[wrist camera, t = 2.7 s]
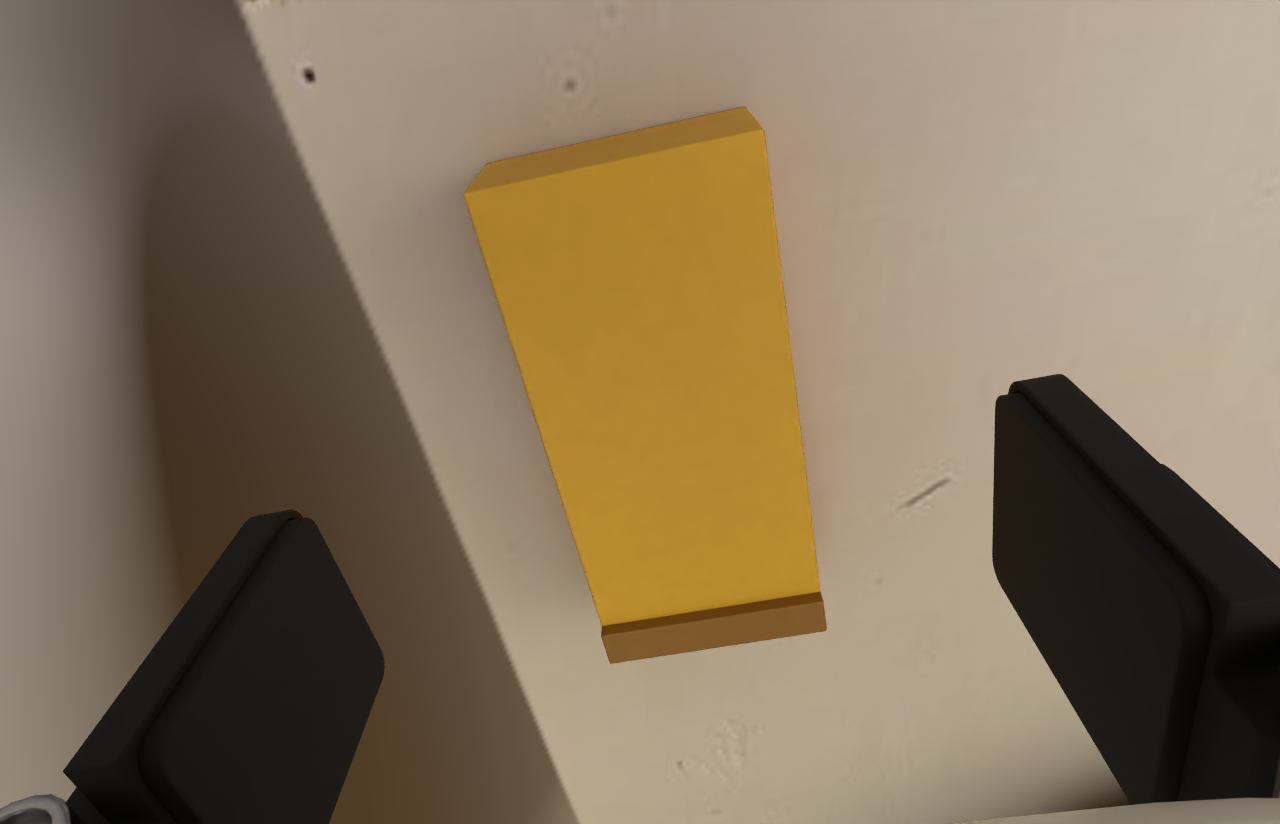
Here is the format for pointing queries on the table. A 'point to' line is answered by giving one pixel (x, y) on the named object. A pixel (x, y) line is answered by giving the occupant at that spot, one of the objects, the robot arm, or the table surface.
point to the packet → (661, 377)
